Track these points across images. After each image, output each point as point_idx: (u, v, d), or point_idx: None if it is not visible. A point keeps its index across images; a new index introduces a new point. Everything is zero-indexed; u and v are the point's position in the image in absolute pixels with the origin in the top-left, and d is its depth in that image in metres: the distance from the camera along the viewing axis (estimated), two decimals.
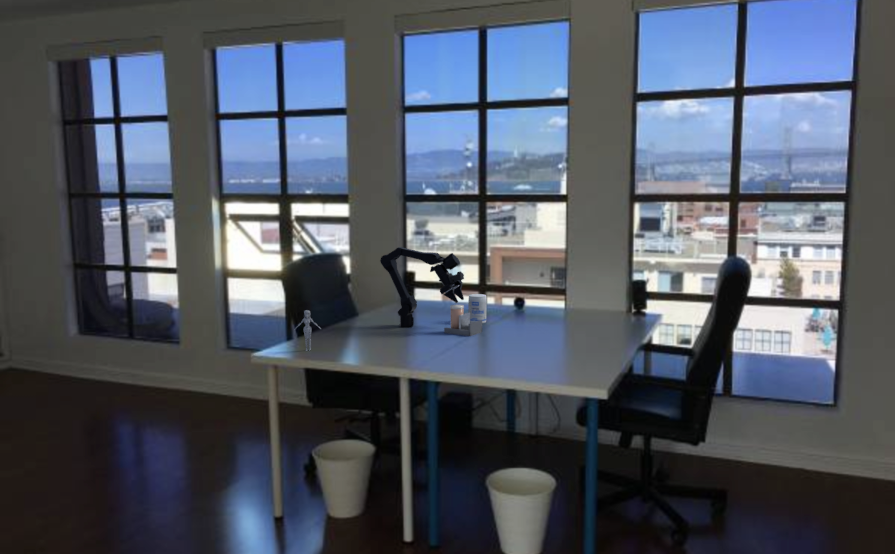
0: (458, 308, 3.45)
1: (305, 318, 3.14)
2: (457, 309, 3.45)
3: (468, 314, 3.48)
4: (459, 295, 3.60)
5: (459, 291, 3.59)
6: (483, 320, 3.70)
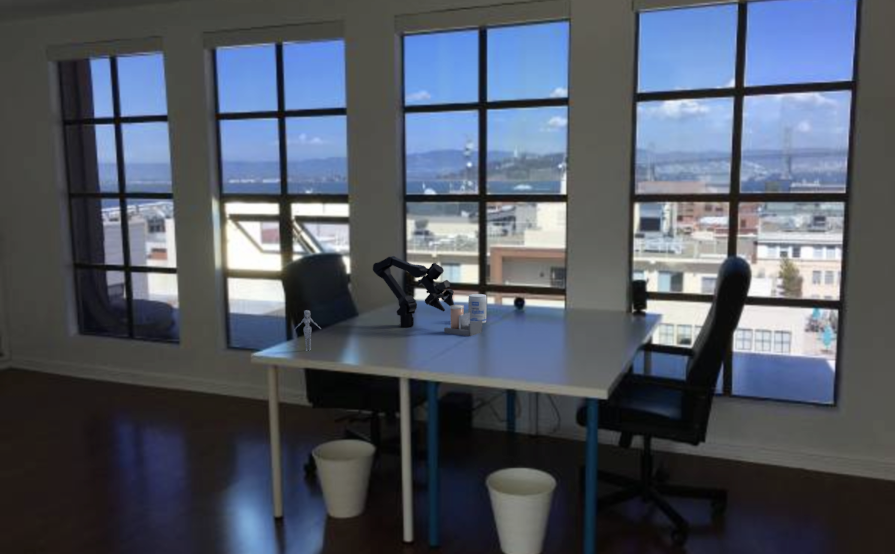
0: (458, 308, 3.45)
1: (305, 318, 3.14)
2: (457, 309, 3.45)
3: (468, 314, 3.48)
4: (450, 304, 3.55)
5: (450, 300, 3.55)
6: (483, 320, 3.70)
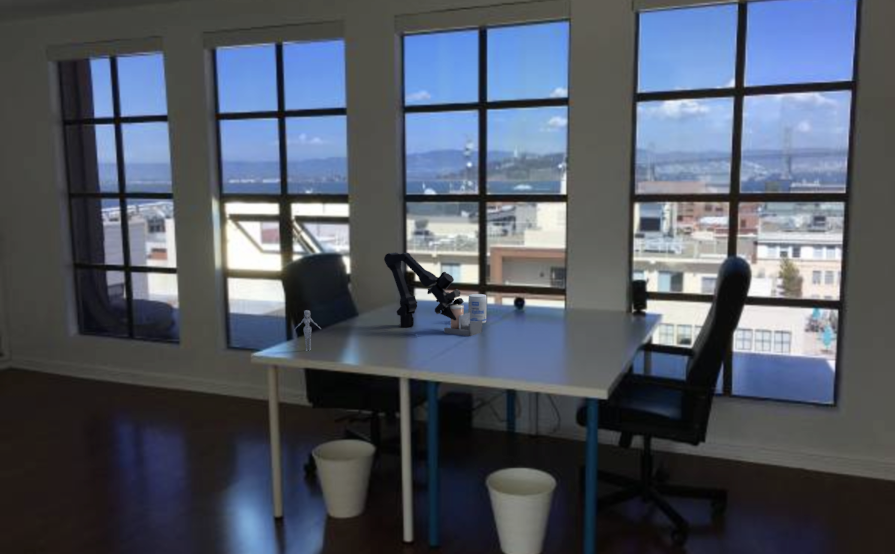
0: (458, 308, 3.45)
1: (305, 318, 3.14)
2: (457, 309, 3.45)
3: (468, 314, 3.48)
4: None
5: None
6: (483, 320, 3.70)
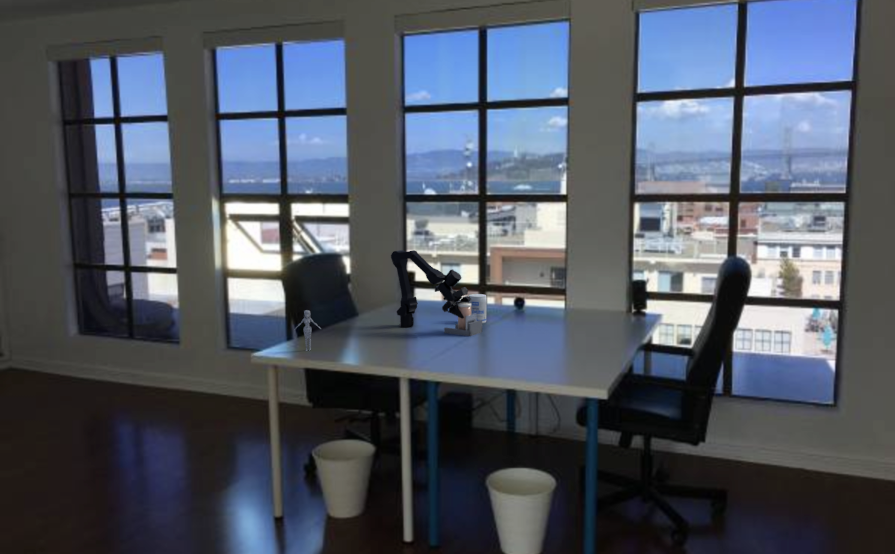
0: (466, 306, 3.42)
1: (305, 318, 3.14)
2: (465, 307, 3.42)
3: (475, 315, 3.46)
4: None
5: None
6: (483, 320, 3.70)
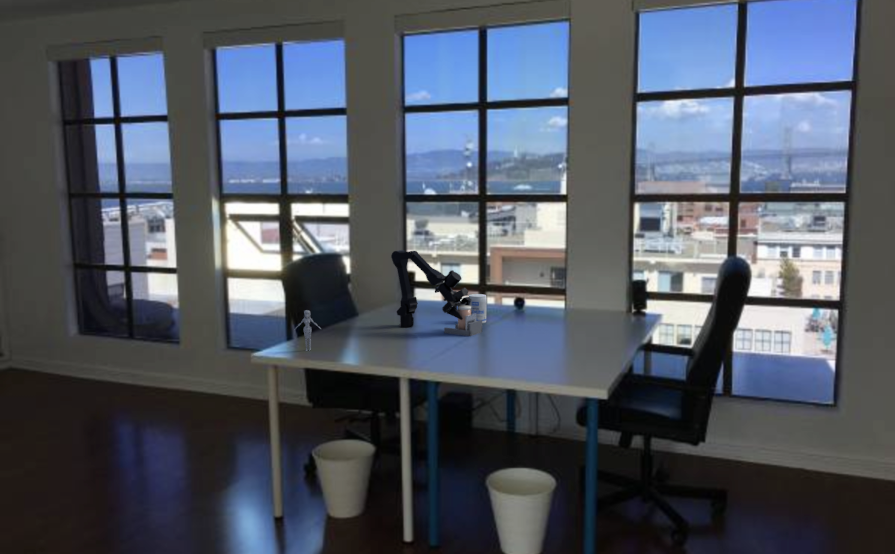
0: (466, 309, 3.42)
1: (305, 318, 3.14)
2: (465, 310, 3.42)
3: (474, 315, 3.46)
4: None
5: None
6: (483, 320, 3.70)
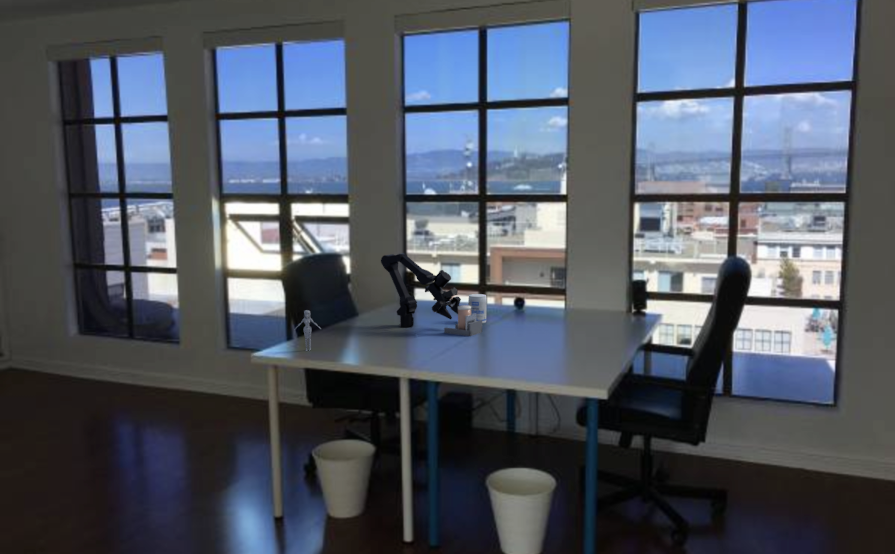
0: (466, 309, 3.42)
1: (305, 318, 3.14)
2: (465, 310, 3.42)
3: (474, 315, 3.46)
4: (457, 312, 3.53)
5: (457, 308, 3.54)
6: (483, 320, 3.70)
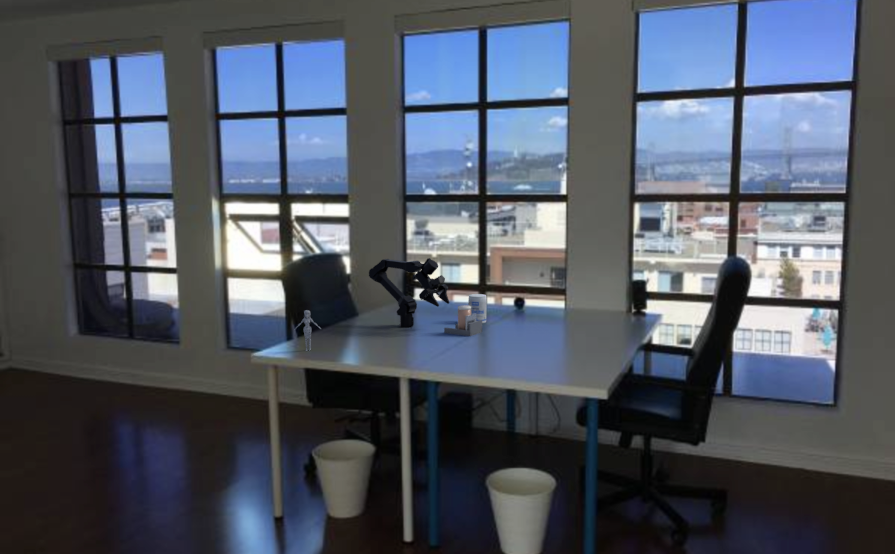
0: (466, 309, 3.42)
1: (305, 318, 3.14)
2: (465, 310, 3.42)
3: (474, 315, 3.46)
4: (445, 299, 3.57)
5: (444, 295, 3.57)
6: (483, 320, 3.70)
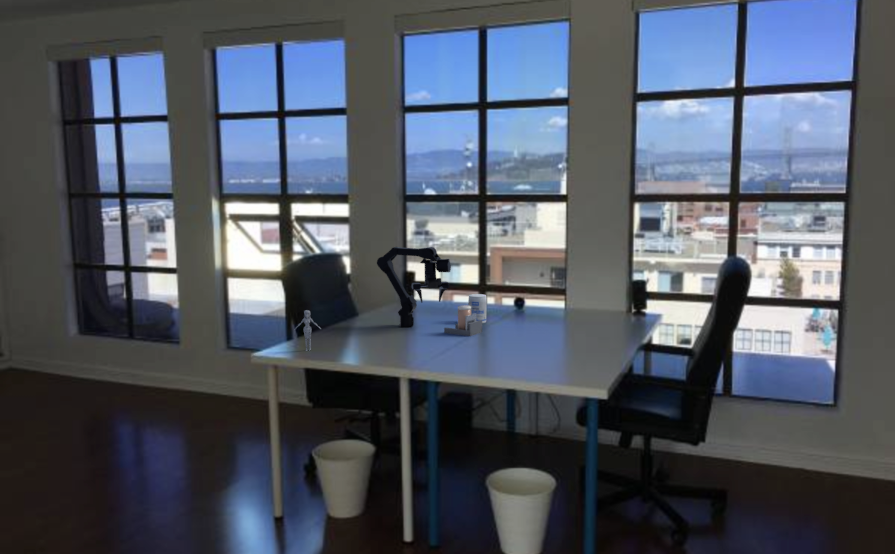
0: (466, 309, 3.42)
1: (305, 318, 3.14)
2: (465, 310, 3.42)
3: (474, 315, 3.46)
4: (439, 296, 3.62)
5: (440, 293, 3.61)
6: (483, 320, 3.70)
